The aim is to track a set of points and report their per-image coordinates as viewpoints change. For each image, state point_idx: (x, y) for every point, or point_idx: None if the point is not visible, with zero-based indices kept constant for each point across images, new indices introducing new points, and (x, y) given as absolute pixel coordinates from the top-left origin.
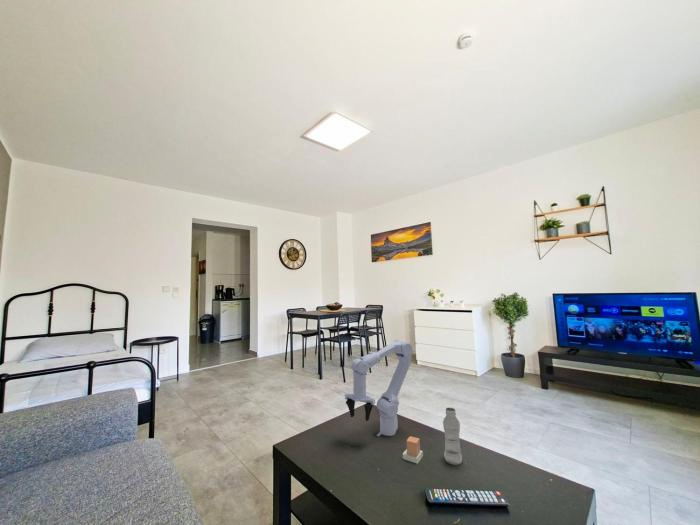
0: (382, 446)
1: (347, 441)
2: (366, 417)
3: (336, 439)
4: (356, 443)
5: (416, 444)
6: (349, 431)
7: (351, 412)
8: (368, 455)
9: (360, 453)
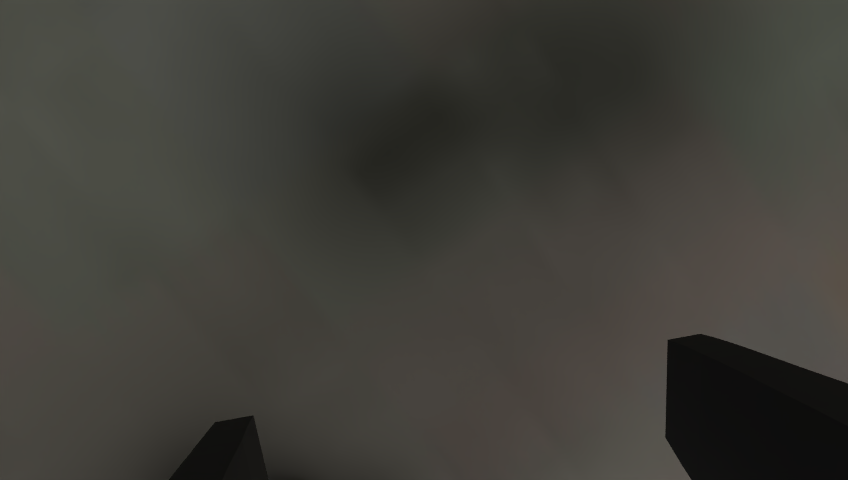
0: (100, 348)
1: (560, 171)
2: (187, 467)
3: (709, 124)
4: (432, 202)
5: None
6: (665, 372)
7: (760, 392)
8: (100, 47)
9: (229, 23)
